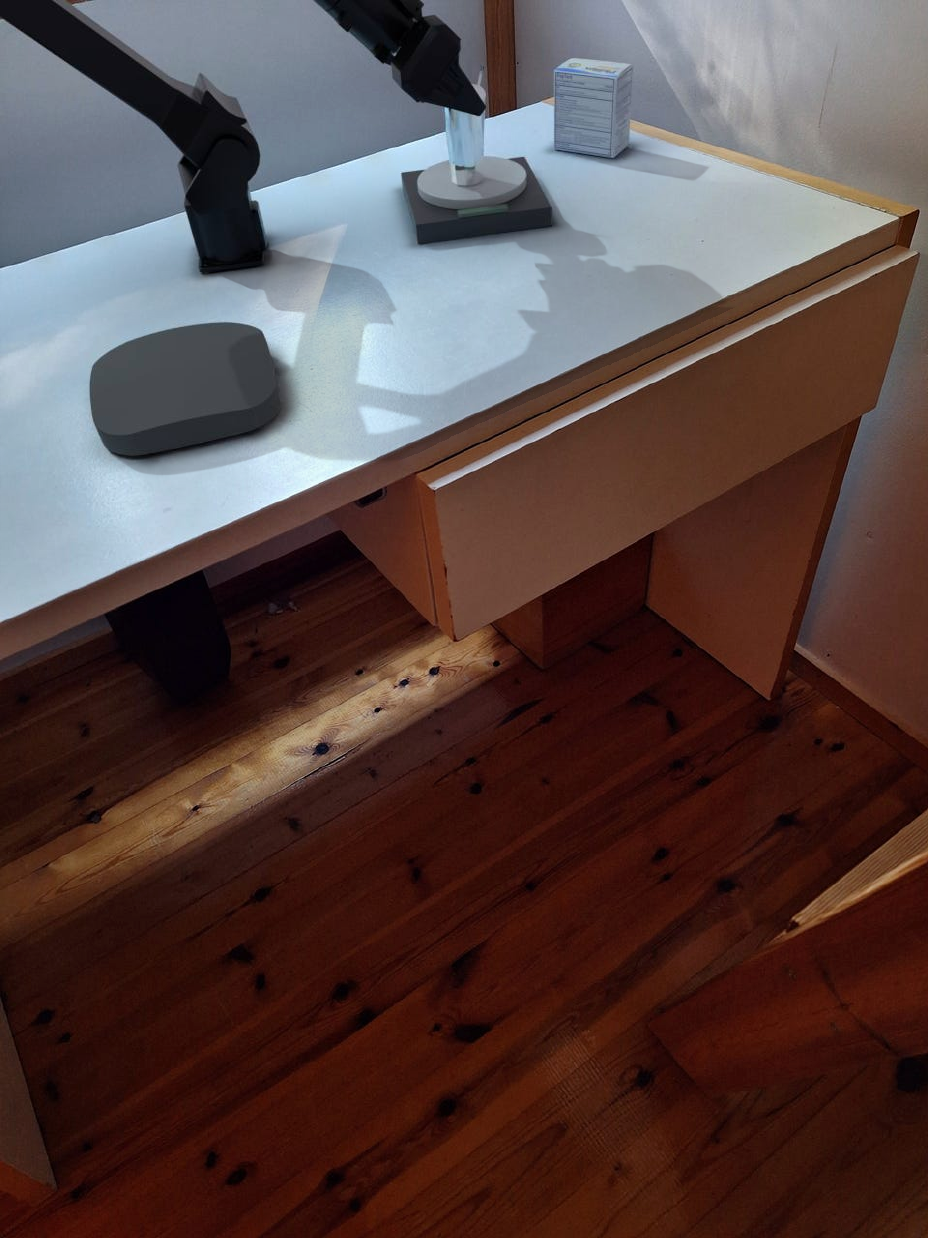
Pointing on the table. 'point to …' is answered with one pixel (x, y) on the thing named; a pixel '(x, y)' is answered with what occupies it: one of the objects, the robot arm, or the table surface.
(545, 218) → the scale
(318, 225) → the table surface
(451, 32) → the robot arm
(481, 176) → the milkshake
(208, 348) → the media streaming box
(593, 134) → the medicine box
